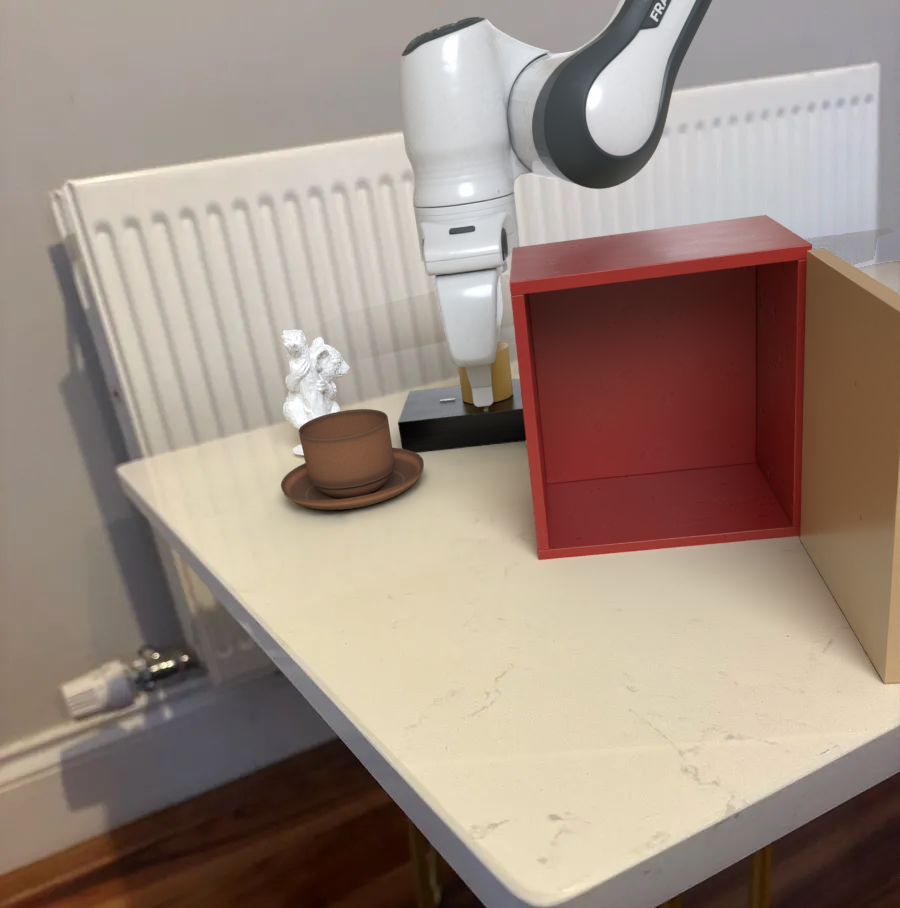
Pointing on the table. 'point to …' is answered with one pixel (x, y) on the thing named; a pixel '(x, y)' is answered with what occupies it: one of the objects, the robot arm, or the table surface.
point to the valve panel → (458, 420)
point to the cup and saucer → (350, 462)
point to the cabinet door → (854, 449)
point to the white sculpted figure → (310, 379)
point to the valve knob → (499, 377)
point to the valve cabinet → (663, 385)
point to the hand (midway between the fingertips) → (486, 389)
